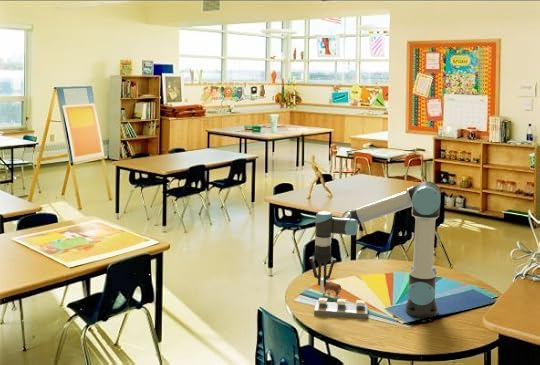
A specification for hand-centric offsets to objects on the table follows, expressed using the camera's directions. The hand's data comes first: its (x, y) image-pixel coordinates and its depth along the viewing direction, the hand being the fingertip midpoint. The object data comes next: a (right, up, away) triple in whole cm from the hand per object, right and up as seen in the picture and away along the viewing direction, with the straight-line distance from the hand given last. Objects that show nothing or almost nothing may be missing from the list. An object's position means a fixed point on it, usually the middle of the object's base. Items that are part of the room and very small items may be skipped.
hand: (321, 291), depth 282 cm
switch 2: (+19, -6, +1) cm, 19 cm away
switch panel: (+10, -10, +2) cm, 14 cm away
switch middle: (+10, -5, +2) cm, 11 cm away
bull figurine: (+6, -6, +23) cm, 24 cm away
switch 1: (+1, -5, +4) cm, 6 cm away
